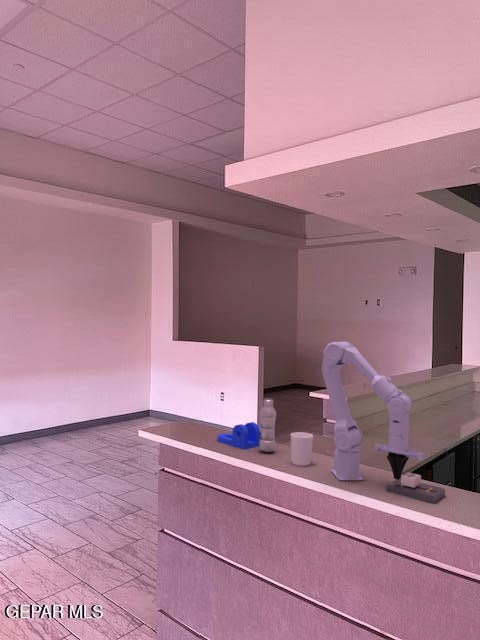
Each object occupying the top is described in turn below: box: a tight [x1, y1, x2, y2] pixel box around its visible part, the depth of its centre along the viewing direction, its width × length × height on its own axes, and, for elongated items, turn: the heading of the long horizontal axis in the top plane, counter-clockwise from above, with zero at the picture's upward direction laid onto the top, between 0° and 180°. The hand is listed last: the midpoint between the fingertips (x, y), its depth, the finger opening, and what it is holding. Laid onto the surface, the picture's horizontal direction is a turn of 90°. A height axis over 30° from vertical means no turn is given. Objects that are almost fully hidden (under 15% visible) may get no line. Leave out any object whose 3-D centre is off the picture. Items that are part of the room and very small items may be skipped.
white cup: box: [290, 431, 314, 467], centre depth 173 cm, size 8×8×10 cm
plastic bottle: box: [258, 398, 277, 453], centre depth 186 cm, size 6×7×20 cm
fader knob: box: [401, 471, 422, 488], centre depth 147 cm, size 4×5×3 cm
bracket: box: [217, 421, 261, 450], centre depth 198 cm, size 18×8×9 cm, turn 45°
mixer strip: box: [386, 478, 446, 504], centre depth 146 cm, size 14×9×2 cm, turn 49°
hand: (397, 478), depth 150 cm, fingers closed
